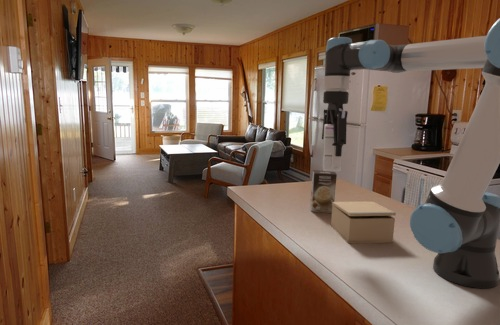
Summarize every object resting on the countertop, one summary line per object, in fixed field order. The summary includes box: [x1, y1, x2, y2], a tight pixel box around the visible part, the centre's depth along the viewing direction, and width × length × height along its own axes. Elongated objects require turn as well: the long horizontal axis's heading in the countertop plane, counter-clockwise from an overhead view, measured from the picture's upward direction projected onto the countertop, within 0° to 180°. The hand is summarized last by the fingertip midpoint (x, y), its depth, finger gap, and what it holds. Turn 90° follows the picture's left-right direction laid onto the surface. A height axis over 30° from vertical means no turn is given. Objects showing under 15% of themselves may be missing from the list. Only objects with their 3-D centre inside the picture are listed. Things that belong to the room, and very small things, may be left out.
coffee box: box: [309, 169, 338, 214], centre depth 147 cm, size 9×6×16 cm
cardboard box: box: [330, 204, 396, 244], centre depth 123 cm, size 16×15×8 cm
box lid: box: [332, 200, 397, 217], centre depth 122 cm, size 16×15×1 cm
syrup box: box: [322, 124, 343, 173], centre depth 114 cm, size 6×6×14 cm
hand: (331, 164), depth 115 cm, fingers closed on syrup box, 7 cm apart
